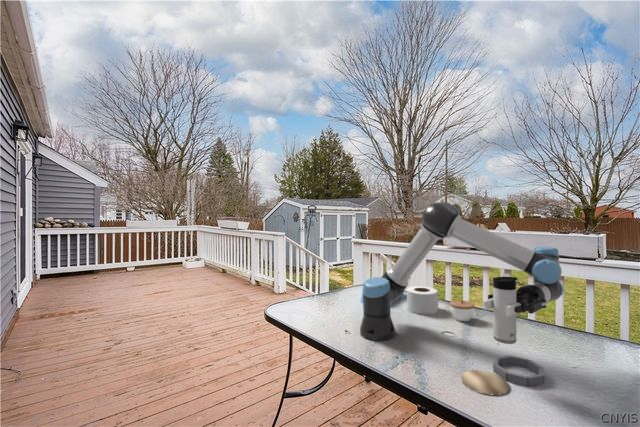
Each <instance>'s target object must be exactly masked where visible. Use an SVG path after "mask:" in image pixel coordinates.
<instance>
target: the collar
mask: <svg viewBox="0 0 640 427" xmlns="http://www.w3.org/2000/svg"><path fill="white" fill-rule="evenodd" d="M507 365H508V366H509V365H512V366H518V367H522V368H526V369H528V370H530V371H531V372H534V373H535V374H530V375H523V374H519V373H515V372H510V371H508V370H507V369H505V368H504V367H502V366H507ZM492 369H493V370H492V373H494V374H496V375H498V376H500V377H502V378H503V379H504V380H505V381H506V382H507V383H508V382H509V383H513V384H517V385H521V386H525V387H533V386H539V385H544V384H545V373H544V372H545V368H544V367H543V366H542V365H540V364H537V362H534V361H533V360H531V359H528V358H524V357H520V356H513V355H502V356H495V357H494V359H493V368H492Z"/></svg>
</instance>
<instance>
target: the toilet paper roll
mask: <svg viewBox="0 0 640 427" xmlns="http://www.w3.org/2000/svg"><path fill="white" fill-rule="evenodd" d="M406 310H408V311H409V312H411V313H413V314H416V315H422V316H423V315H427V316H428V315H435V314H436V313H438V312H439V290H438V289H436V288H433V287H431V286H421V285H420V286H418V285H417V286H414V285H413V286H410V287H406Z"/></svg>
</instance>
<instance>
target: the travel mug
mask: <svg viewBox="0 0 640 427" xmlns="http://www.w3.org/2000/svg"><path fill="white" fill-rule="evenodd" d="M518 280H519V279H518V278H517V277H516V276H499V277H498V276H497V277H494V278H493V280H492V281H493V282H492V283H493V285H492V287H493V288H492V294H493V308H492V311H493V312H492V314H493V316H492V317H493V318H492V319H493V322H492V324H493V328H492V331H493V333H492V334H493V335H492V336H493V339H494V340H495V341H496V342H497V343H498V342H499V343H501V344H505V345H513V344H515V343H517V313H516V314H514V315H511V316H506V307H507V306H510V305H512V304H515V303H516V291H517V282H518ZM516 281H517V282H516Z"/></svg>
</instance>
